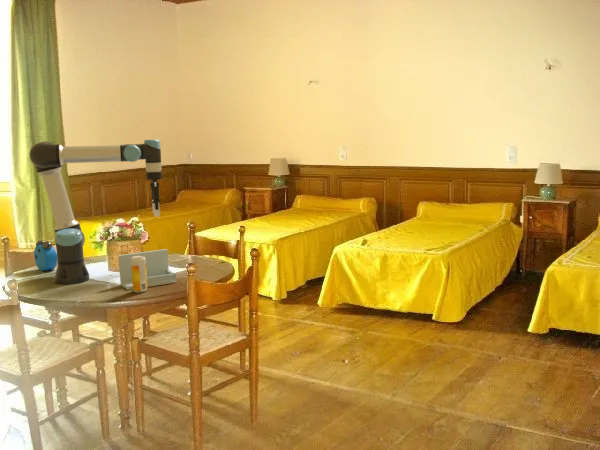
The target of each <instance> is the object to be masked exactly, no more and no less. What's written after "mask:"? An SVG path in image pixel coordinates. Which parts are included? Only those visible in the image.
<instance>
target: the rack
mask: <svg viewBox="0 0 600 450" xmlns="http://www.w3.org/2000/svg"><path fill="white" fill-rule="evenodd" d="M168 253H169V252H168V249H167V248H164V249H157V250H155V249H154V250H149V251H142V252H135V253H134V252H133V253H128V254H127V253H126V254H120V255H119V254H118V268H119V280H120V281H119V283H120V286H121V287H123V288H124V289H126V290H127V291H130V290H133V282H132V269H131V258H132V257H133V256H144V257H145V259H146V272H147V286H148V288H150V287H156V286H160V285H161V286H162V285H167V284H168V285H169V284H173V283H177V273H175V272H173V271H171V270H169V269H170V268H169V256H168Z"/></svg>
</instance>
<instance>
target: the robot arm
mask: <svg viewBox="0 0 600 450" xmlns="http://www.w3.org/2000/svg"><path fill="white" fill-rule="evenodd" d="M161 149H162V148H161V141H160V139H144V142H143V143H130V144H129V143H128V144H126V143H125V144H114V145H112V144H111V145H78V146H77V145H72V146H69V145H68V146H66V145H65V146H63V145H62V144H59V143H57V144H54V143H53V142H51V141H47V140H45V141H40V142H36V143H35V144H33V145H32V147H30V150H29V153H28V154H29V159H30V161H31V163H32V165H34V167H35V170H36V173H37V175H39V176H41V177H42V183H43V184H44V188H45V192H46V194H47V198H48V201H49V205H50V208H51V211H52V214H53V217H54V221H55V224H56V225H55V227H54V232H55V234H54V242H55V251H56V254H57V265H56V272H55V275H54V283H55V284H58V285H72V284H73V285H74V284H78V283H83V282H87V281H88V280H90V273H89V271H88V268H87V266H86V264H85V256H84V245H85V241H86V237H85V233H84V232H83V231H82V228H81V224H80V222H79V221H77V220H76V218H75V216H74V212H73V209H72V206H71V203H70V200H69V196H68V193H67V189H66V186H65V182H64V178H63V176H62V172H61V171H62V169H63V165H64V164H81V163H87V164H88V163H111V162H115V163H116V162H122V163H124V162H131V163H133V162H137V161H139V160H140V161H141V160H145V171H146V173H145V176H146V180H147V181H150V184H149V185H150V190H151V199H152V200H151V206H152V207H151V208H152V214H153V216H154V217H161V210H160V209H161V208H160V206H161V205H160V201H161V200H160V195H159V193H160V183H159V182H158V180H162V179H163V172H162V167H163V166H164V165H163V164H162V150H161Z"/></svg>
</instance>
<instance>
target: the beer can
mask: <svg viewBox="0 0 600 450" xmlns="http://www.w3.org/2000/svg"><path fill="white" fill-rule="evenodd" d="M131 269H132V282H133V289H132V290H133V292H134V293H136V294H137V293H138V294H139V293H146V292H147V291H148V288H149V287H148V286H147V272H146V259H145V257H144V256H133V257H132V258H131Z"/></svg>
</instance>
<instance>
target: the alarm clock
mask: <svg viewBox="0 0 600 450" xmlns="http://www.w3.org/2000/svg"><path fill="white" fill-rule="evenodd" d="M33 259H34V262H35V265H36V267H37V268H38V270H39V271H41V272H46V271H50V270H53V271H55V268H57V266H58V263H57V252H56V247H54V246H53V243H52V242H50V241H47V240H42V239H39V240H38V241H36V243H35V247H34V250H33Z"/></svg>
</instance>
